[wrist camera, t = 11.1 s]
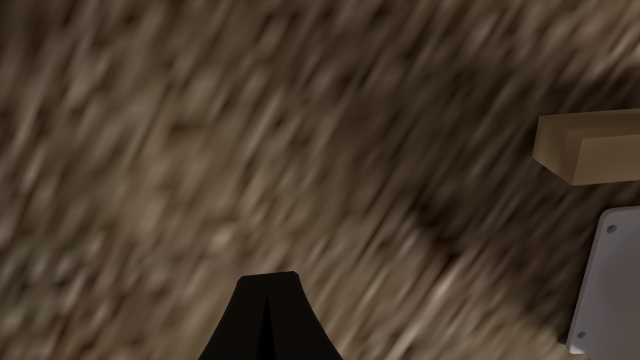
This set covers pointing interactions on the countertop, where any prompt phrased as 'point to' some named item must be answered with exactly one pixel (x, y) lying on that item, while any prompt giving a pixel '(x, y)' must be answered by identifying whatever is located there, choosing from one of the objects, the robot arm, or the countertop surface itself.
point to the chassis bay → (590, 146)
